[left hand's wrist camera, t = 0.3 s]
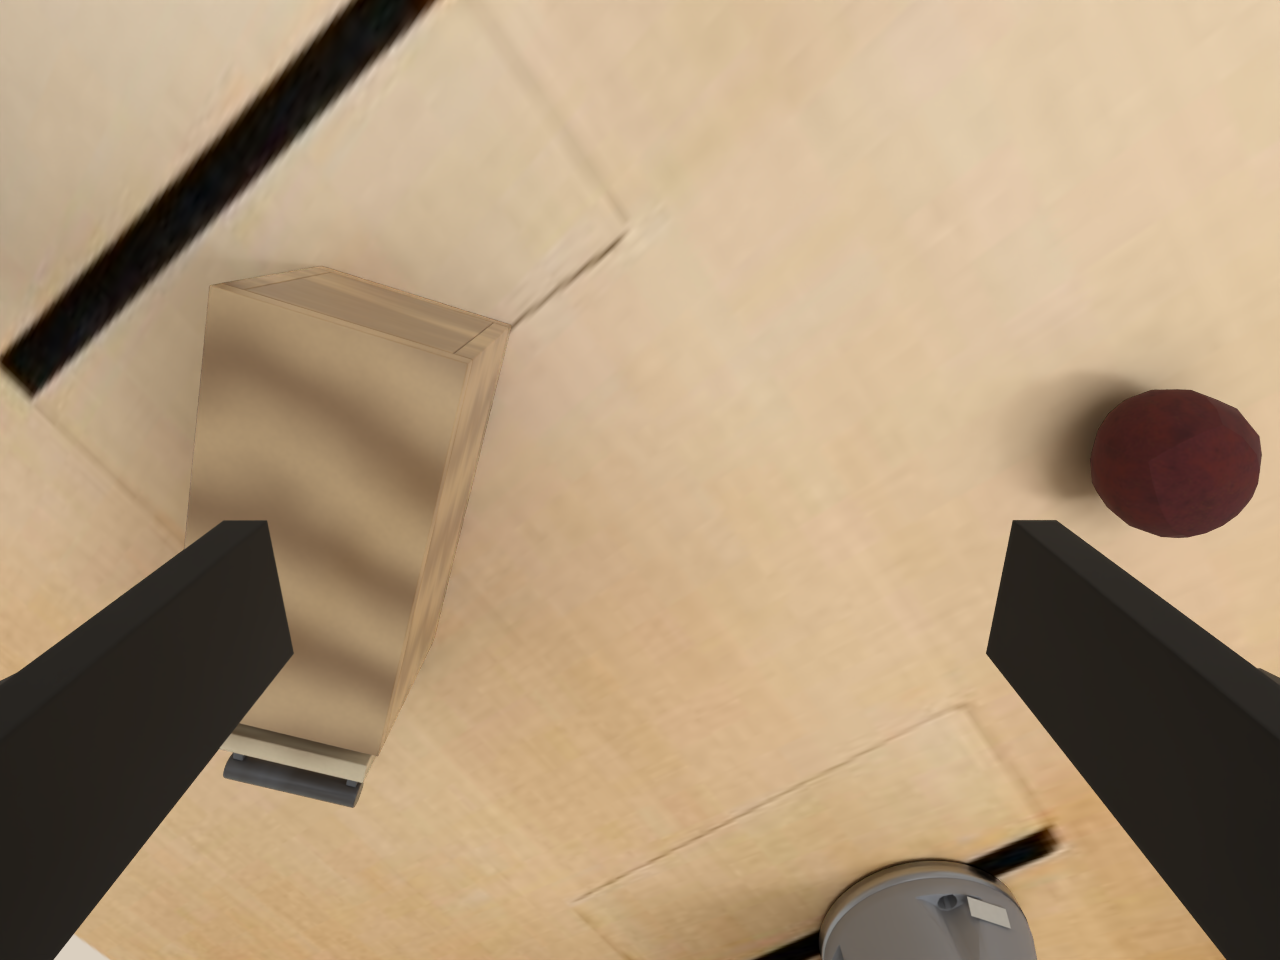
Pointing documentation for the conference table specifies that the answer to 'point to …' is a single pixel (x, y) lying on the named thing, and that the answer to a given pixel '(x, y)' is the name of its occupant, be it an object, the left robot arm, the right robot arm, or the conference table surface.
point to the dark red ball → (1175, 462)
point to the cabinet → (343, 477)
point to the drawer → (296, 765)
